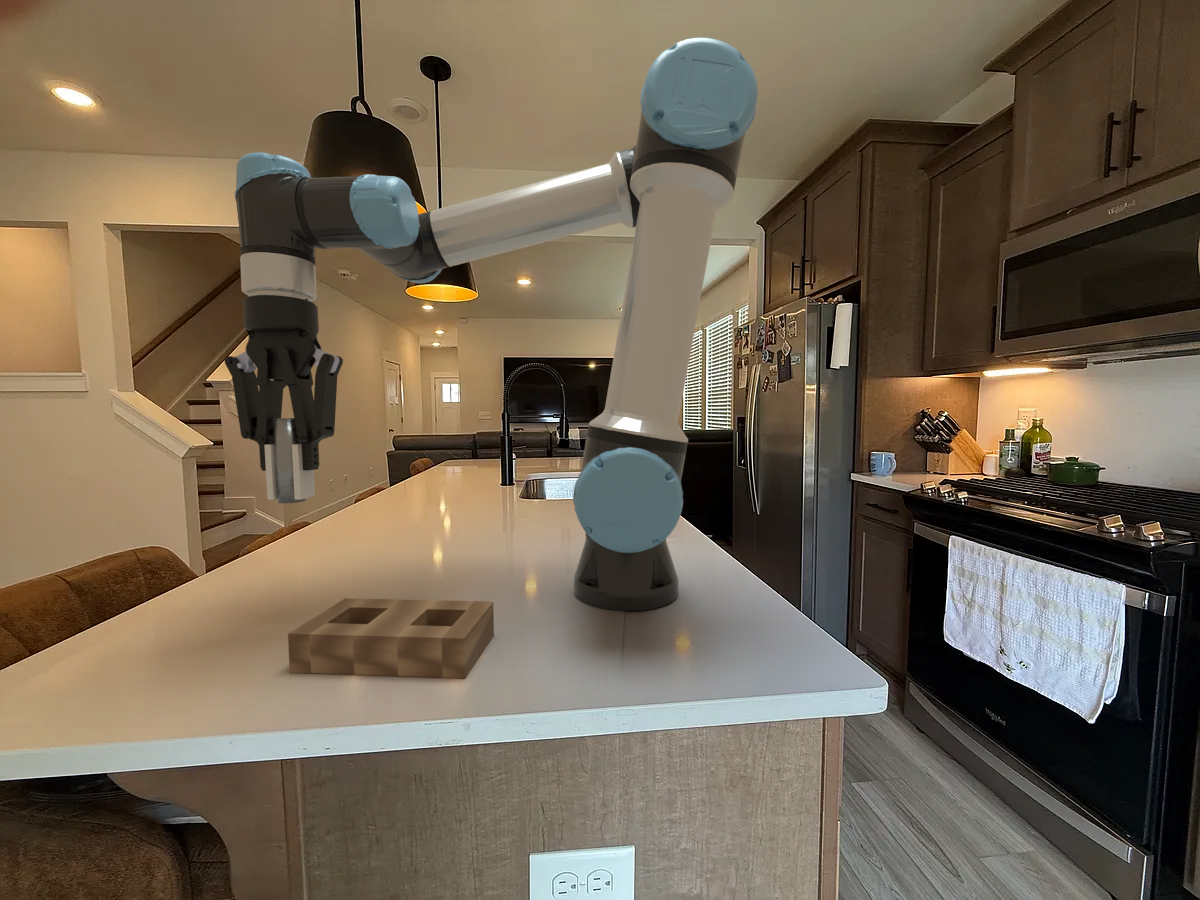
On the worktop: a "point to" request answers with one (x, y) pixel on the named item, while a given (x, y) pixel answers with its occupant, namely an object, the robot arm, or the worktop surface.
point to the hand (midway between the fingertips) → (291, 497)
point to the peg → (284, 458)
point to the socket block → (393, 638)
